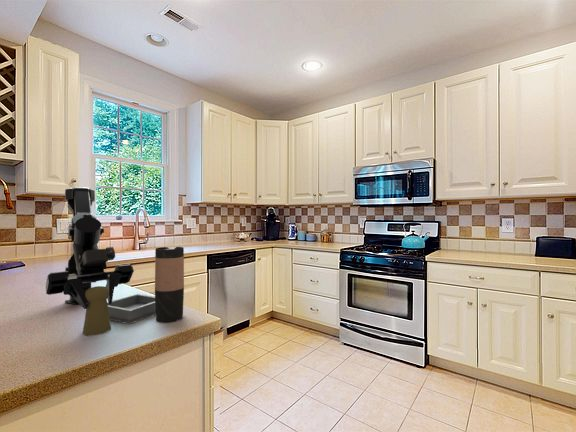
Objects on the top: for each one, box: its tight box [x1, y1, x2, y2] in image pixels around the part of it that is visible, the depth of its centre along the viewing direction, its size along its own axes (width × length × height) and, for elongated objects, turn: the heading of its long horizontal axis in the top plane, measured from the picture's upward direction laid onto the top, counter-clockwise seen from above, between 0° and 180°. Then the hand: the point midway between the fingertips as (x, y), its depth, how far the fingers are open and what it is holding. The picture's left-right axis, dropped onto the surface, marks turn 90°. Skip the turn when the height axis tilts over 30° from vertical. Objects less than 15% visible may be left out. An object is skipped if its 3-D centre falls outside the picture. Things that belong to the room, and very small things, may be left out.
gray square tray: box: [107, 293, 156, 325], centre depth 87 cm, size 13×13×4 cm
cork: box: [82, 285, 112, 336], centre depth 74 cm, size 6×6×11 cm
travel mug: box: [154, 246, 185, 324], centre depth 83 cm, size 8×8×20 cm
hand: (98, 305), depth 73 cm, fingers closed on cork, 5 cm apart
